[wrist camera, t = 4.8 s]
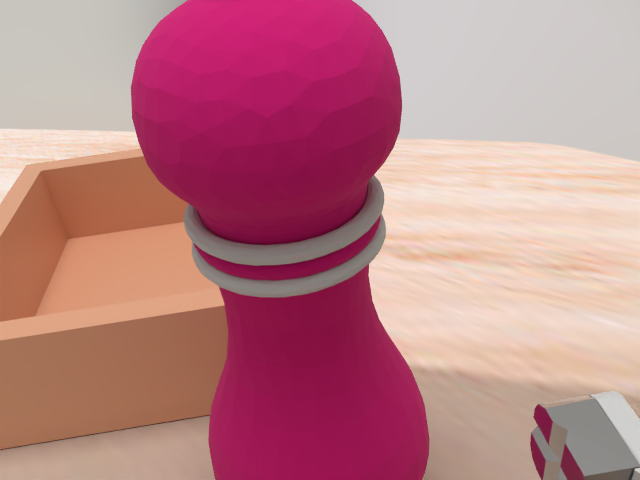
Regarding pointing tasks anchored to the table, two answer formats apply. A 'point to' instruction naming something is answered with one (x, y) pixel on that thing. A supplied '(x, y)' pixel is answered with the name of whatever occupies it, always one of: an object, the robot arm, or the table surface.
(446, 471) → the table surface
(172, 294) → the crate
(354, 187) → the pepper mill
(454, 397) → the table surface
